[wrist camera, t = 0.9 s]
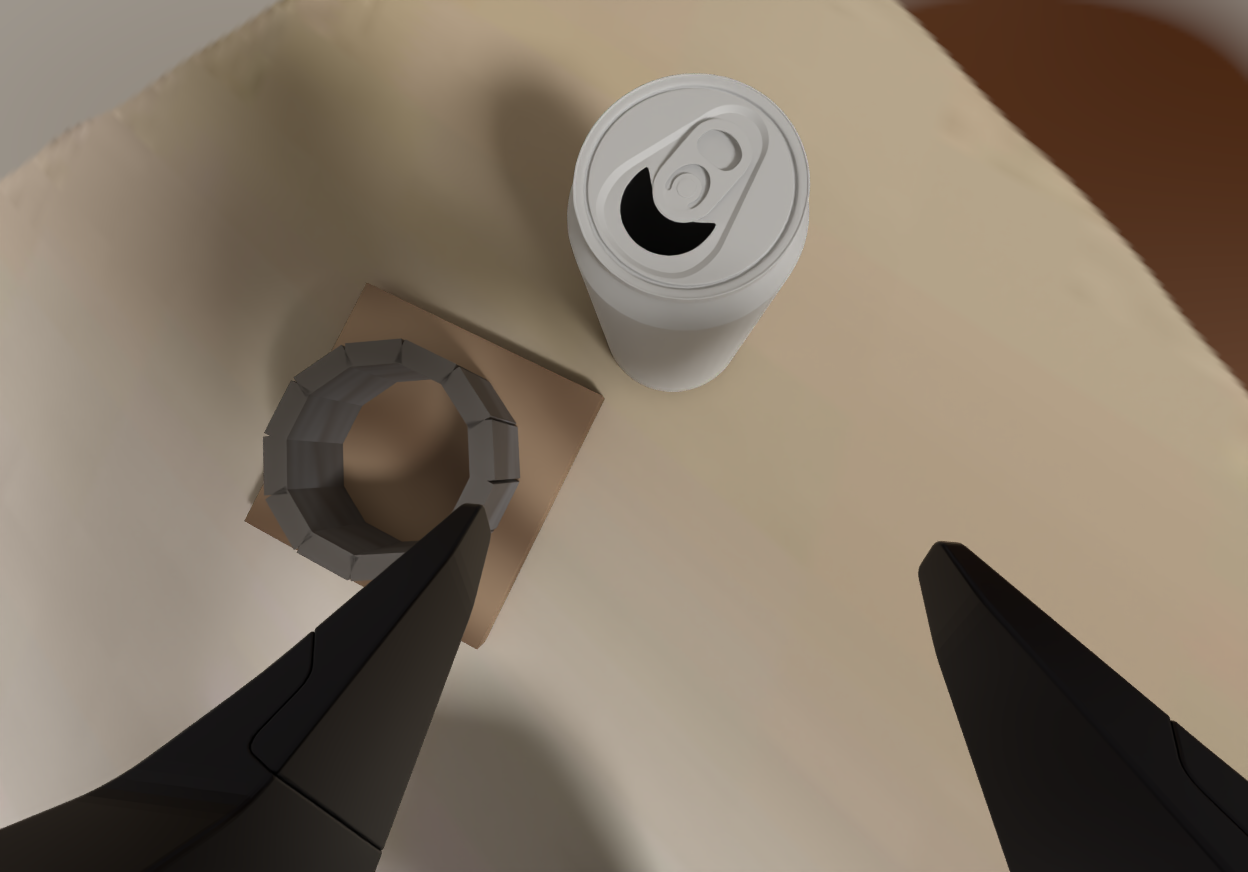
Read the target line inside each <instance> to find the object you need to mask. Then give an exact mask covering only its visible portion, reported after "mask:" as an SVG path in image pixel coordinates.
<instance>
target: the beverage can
mask: <svg viewBox="0 0 1248 872" xmlns="http://www.w3.org/2000/svg"><path fill="white" fill-rule="evenodd" d="M809 192H810V173H809V165H808V160H807V156H806V152H805V149H804V146H803V144H802V141H801V139H800V137H799V135H798V133H797V131H796V129H795V127H794V126H793V124H792V123H791V121H790V120H789V119H788V117H787V116H786V115H785V113H784V112H783V111H782V110H781V109H780V108H779V107H778V106H777V105H776V104H775V103H774V102H773V101H772V100H770V99H769V98H768V97H767V96H765V95H764V94H762V93H761V92H759V91H758V90H756V89H754V88H753V87H751V86H749V85H747V84H744V83H742V82H739V81H737V80H734V79H731V78H727V77H723V76H718V75H712V74H702V73H689V74H678V75H672V76H667V77H663V78H660V79H657V80H653V81H651V82H648V83H646V84H643V85H641V86H639V87H637V88H635V89H634V90H632V91H630V92H629V93H627V94H625V95H624V96H623V97H621V98H620V99H619V100H617V101H616V102H615V103H614V104H613V105H611V106H610V107H609V108H608V109H607V110H606V111H605V112H604V113H603V114H602V115H601V117H600V118H599V119H598V120H597V122H596V123H595V124H594V126H593V127H592V129H591V130H590V132H589V134H588V135H587V137H586V139H585V141H584V143H583V145H582V147H581V150H580V153H579V156H578V159H577V162H576V166H575V171H574V178H573V184H572V187H571V191H570V195H569V201H568V209H567V226H568V235H569V240H570V244H571V247H572V250H573V253H574V256H575V259H576V262H577V265H578V267H579V270H580V272H581V275H582V278H583V280H584V283H585V285H586V288H587V291H588V293H589V296H590V298H591V301H592V304H593V306H594V309H595V311H596V314H597V317H598V319H599V322H600V324H601V327H602V330H603V332H604V335H605V337H606V340H607V343H608V345H609V348H610V350H611V353H612V355H613V357H614V359H615V360H616V362H617V363H618V365H619V366H620V367H621V369H622V370H623V371H624V372H625V373H626V374H627V375H629V376H630V377H631V378H632V379H634V380H635V381H637V382H638V383H640V384H642V385H644V386H646V387H649V388H652V389H655V390H660V391H668V392H678V391H685V390H690V389H694V388H697V387H699V386H702V385H704V384H706V383H708V382H709V381H711V380H712V379H714V378H715V377H716V376H718V375H719V374H720V373H721V372H722V371H723V370H724V369H725V368H726V367H727V365H728V364H729V363H730V361H731V360H732V358H733V357H734V355H735V354H736V352H737V351H738V350H739V348H740V347H741V345H742V344H743V342H744V341H745V339H746V338H747V336H748V335H749V334H750V332H751V331H752V329H753V328H754V326H755V325H756V323H757V322H758V320H759V319H760V318H761V316H762V315H763V313H764V312H765V310H766V309H767V307H768V306H769V304H770V303H771V302H772V300H773V299H774V297H775V296H776V294H777V293H778V291H779V290H780V288H781V287H782V286H783V284H784V283H785V281H786V280H787V278H788V277H789V275H790V274H791V272H792V271H793V269H794V267H795V265H796V264H797V261H798V259H799V257H800V255H801V252H802V249H803V247H804V244H805V240H806V236H807V230H808V224H809Z"/></svg>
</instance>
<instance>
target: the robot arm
mask: <svg viewBox="0 0 1248 872" xmlns="http://www.w3.org/2000/svg"><path fill="white" fill-rule="evenodd" d="M490 538H491V530H490V525H489V522H488V518H487V514H486V510H485V508H484V506H483V505H481V504H471V503H465V504H462V505H460V506H459V507H458V508H457V509H456V510H454V511H453V512H452V513H451V514H450V515H449V516H447V517H446V518H445V519H444V520H443V521H441V522H440V523H439V524H438V525H437V526H436V527H434V528H433V529H432V530H431V531H430V532H428V533H427V534H426V535H425V536H424V537H423V538H421V539H420V540H419V541H418V542H417V543H416V544H414V545H413V546H412V547H411V548H410V549H408V550H407V551H406V552H405V553H404V554H403V555H401V556H400V557H399V558H398V559H397V560H395V561H394V562H393V563H392V564H391V565H390V566H388V567H387V568H386V569H385V570H384V571H382V572H381V573H380V574H379V575H378V576H377V577H375V578H374V579H373V580H372V581H371V582H369V583H368V584H367V585H366V586H365V587H364V588H362V589H361V590H360V591H359V592H358V593H357V594H355V595H354V596H353V597H352V598H351V599H349V600H348V601H347V602H346V603H345V604H344V605H342V606H341V607H340V608H339V609H338V610H336V611H335V612H334V613H333V614H332V615H331V616H329V617H328V618H327V619H326V620H325V621H323V622H322V623H321V624H320V625H319V626H318V627H316V629H315V632H310V633H309V634H308V635H307V636H306V637H304V638H303V639H302V640H301V641H300V642H298V643H297V644H296V645H295V646H294V647H293V648H291V649H290V650H289V651H288V652H286V653H285V654H284V655H283V656H282V657H280V658H279V659H278V660H277V661H275V662H274V663H273V664H272V665H270V666H269V667H268V668H267V669H266V670H264V671H263V672H262V673H260V674H259V675H258V676H257V677H255V678H254V679H253V680H251V681H250V682H249V683H247V684H246V685H245V686H243V687H242V688H241V689H239V690H238V691H237V692H235V693H234V694H233V695H232V696H230V697H229V698H228V699H226V700H225V701H223V702H222V703H221V704H219V705H218V706H217V707H215V708H214V709H213V710H211V711H210V712H208V713H207V714H206V715H204V716H203V717H202V718H200V719H199V720H198V721H196V722H195V723H193V724H192V725H191V726H189V727H188V728H187V729H185V730H184V731H183V732H181V733H180V734H179V735H177V736H176V737H174V738H173V739H172V740H170V741H169V742H168V743H166V744H165V745H164V746H162V747H161V748H159V749H158V750H157V751H155V752H154V753H153V754H151V755H150V756H149V757H147V758H146V759H144V760H143V761H141V762H140V763H139V764H137V765H136V766H134V767H133V768H131V769H130V770H128V771H126V772H125V773H123V774H122V775H120V776H118V777H117V778H115V779H113V780H111V781H110V782H108V783H106V784H104V785H102V786H101V787H99V788H97V789H95V790H93V791H91V792H89V793H87V794H85V795H82V796H80V797H78V798H75V799H73V800H71V801H68V802H66V803H63V804H61V805H58V806H56V807H54V808H51V809H49V810H46V811H44V812H41V813H39V814H36V815H34V816H31V817H29V818H26V819H24V820H22V821H19V822H17V823H14V824H12V825H9V826H7V827H4V828H2V829H0V872H375V870H376V867H377V865H378V862H379V859H380V857H381V854H382V852H381V850H383V848H384V845H385V843H386V840H387V837H388V835H389V832H390V829H391V827H392V824H393V821H394V819H395V816H396V813H397V811H398V808H399V805H400V803H401V800H402V797H403V795H404V792H405V789H406V787H407V784H408V781H409V779H410V776H411V773H412V771H413V768H414V765H415V763H416V760H417V757H418V755H419V752H420V749H421V747H422V744H423V741H424V739H425V736H426V733H427V731H428V728H429V725H430V723H431V720H432V717H433V714H434V712H435V709H436V706H437V704H438V701H439V698H440V696H441V693H442V690H443V688H444V685H445V682H446V680H447V677H448V674H449V672H450V669H451V666H452V664H453V661H454V658H455V656H456V653H457V650H458V648H459V645H460V642H461V640H462V637H463V634H464V632H465V629H466V626H467V624H468V621H469V618H470V615H471V612H472V610H473V606H474V603H475V599H476V595H477V591H478V587H479V583H480V579H481V575H482V571H483V567H484V563H485V559H486V555H487V551H488V547H489V543H490ZM918 577H919V582H920V586H921V591H922V595H923V600H924V604H925V609H926V614H927V618H928V623H929V627H930V632H931V636H932V641H933V644H934V648H935V652H936V656H937V659H938V662H939V665H940V668H941V671H942V674H943V677H944V680H945V683H946V686H947V689H948V692H949V694H950V697H951V700H952V703H953V706H954V709H955V712H956V715H957V718H958V721H959V724H960V727H961V730H962V733H963V736H964V738H965V741H966V744H967V747H968V750H969V753H970V756H971V759H972V762H973V765H974V768H975V771H976V774H977V777H978V780H979V782H980V785H981V788H982V791H983V794H984V797H985V800H986V803H987V806H988V809H989V812H990V815H991V818H992V821H993V824H994V826H995V829H996V832H997V835H998V838H999V841H1000V844H1001V847H1002V850H1003V853H1004V856H1005V859H1006V862H1007V865H1008V868H1009V870H1010V872H1248V781H1247V780H1246V779H1245V778H1244V777H1242V776H1241V775H1240V774H1239V773H1237V772H1236V771H1235V770H1234V769H1233V768H1231V767H1230V766H1229V765H1228V764H1226V763H1225V762H1224V761H1223V760H1222V759H1220V758H1219V757H1218V756H1217V755H1215V754H1214V753H1213V752H1212V751H1210V750H1209V749H1208V748H1207V747H1206V746H1204V745H1203V744H1202V743H1201V742H1200V741H1198V740H1197V739H1196V738H1195V737H1194V736H1192V735H1191V734H1190V733H1189V732H1188V731H1186V730H1185V729H1184V728H1183V727H1182V726H1180V725H1179V724H1178V723H1177V722H1175V721H1172V720H1171V721H1170V717H1169V716H1168V715H1167V714H1166V713H1165V712H1163V711H1162V710H1161V709H1160V708H1159V707H1157V706H1156V705H1155V704H1154V703H1153V702H1151V701H1150V700H1149V699H1148V698H1147V697H1145V696H1144V695H1143V694H1142V693H1141V692H1139V691H1138V690H1137V689H1136V688H1135V687H1133V686H1132V685H1131V684H1130V683H1129V682H1127V681H1126V680H1125V679H1124V678H1123V677H1121V676H1120V675H1119V674H1118V673H1117V672H1116V671H1114V670H1113V669H1112V668H1111V667H1110V666H1108V665H1107V664H1106V663H1105V662H1104V661H1102V660H1101V659H1100V658H1099V657H1098V656H1096V655H1095V654H1094V653H1093V652H1092V651H1090V650H1089V649H1088V648H1087V647H1086V646H1084V645H1083V644H1082V643H1081V642H1080V641H1078V640H1077V639H1076V638H1075V637H1074V636H1072V635H1071V634H1070V633H1069V632H1068V631H1066V630H1065V629H1064V628H1063V627H1062V626H1060V625H1059V624H1058V623H1057V622H1056V621H1054V620H1053V619H1052V618H1051V617H1050V616H1048V615H1047V614H1046V613H1045V612H1044V611H1043V610H1041V609H1040V608H1039V607H1038V606H1037V605H1035V604H1034V603H1033V602H1032V601H1031V600H1029V599H1028V598H1027V597H1026V596H1025V595H1023V594H1022V593H1021V592H1020V591H1019V590H1017V589H1016V588H1015V587H1014V586H1013V585H1011V584H1010V583H1009V582H1008V581H1007V580H1005V579H1004V578H1003V577H1002V576H1001V575H999V574H998V573H997V572H996V571H995V570H993V569H992V568H991V567H990V566H989V565H987V564H986V563H985V562H984V561H983V560H981V559H980V558H979V557H978V556H977V555H975V554H974V553H973V552H972V551H971V550H970V549H968V548H967V547H966V546H964V545H963V544H961V543H957V542H947V541H938V542H936V543H935V544H934V545H933V546H932V548H931V549H930V551H929V552H928V554H927V555H926V557H925V558H924V560H923V561H922V563H921V565H920V567H919V571H918Z"/></svg>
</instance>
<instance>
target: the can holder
mask: <svg viewBox="0 0 1248 872" xmlns="http://www.w3.org/2000/svg"><path fill="white" fill-rule="evenodd" d="M294 379H295V380H296V382H295V381H291V382H290V384H289V385H288V387H287V389H286V391H285V393H284V395H283V397H282V399H281V401H280V403H279V405H278V407H277V409H276V411H275V413H274V415H273V417H272V419H271V420H270V422H269V424H268V426H267V428H266V430H265V432H264V433H265V434H267V435H269V436H267V437H263V462H264V484H263V486H262V487H261V489H260V491H259V493H258V495H257V497H256V499H255V501H254V503H253V505H252V507H251V509H250V511H249V513H248V515H247V517H246V519H245V522H247V523H249V524H251V525H252V526H254V527H256V528H258V529H260V530H261V531H263V532H265V533H267V534H269V535H270V536H272V537H274V538H276V539H278V540H280V541H281V542H283V543H285V544H287V545H289V546H290V547H292V548H293V549H296V550H298V551H297V553H299V554H300V555H302V556H304V557H306V558H308V559H310V560H311V561H313V562H315V563H317V564H319V565H320V566H322V567H324V568H326V569H328V570H329V571H331V572H333V573H335V574H337V575H338V576H340V577H342V578H344V579H346V580H349V579H350V580H351V581H354V582H356V583H358V584H359V585H361V586H363V587H365V586H366V585H367V584H368V583H369V582H371V581H372V580H373V579H374V578H375V577H377V576H378V575H379V574H380V573H381V572H382V571H384V570H385V569H386V568H387V567H388V566H390V565H391V564H392V563H393V562H394V561H395V560H397V559H398V558H399V557H400V556H401V555H403V554H404V553H405V552H406V551H407V550H408V549H410V548H411V547H412V546H413V545H414V544H416V543H417V542H418V541H419V540H420V539H421V538H423V537H424V536H425V535H426V534H427V533H428V532H430V531H431V530H432V529H433V528H434V527H436V526H437V525H438V524H439V523H440V522H441V521H443V520H444V519H445V518H446V517H447V516H449V515H450V514H451V513H452V512H453V511H454V510H456V509H457V508H458V507H459V506H460V505H462V504H465V503H471V504H481V505H483V506H484V508H485V510H486V514H487V518H488V522H489V525H490V530H491V538H490V543H489V547H488V551H487V555H486V559H485V563H484V567H483V571H482V575H481V579H480V583H479V587H478V591H477V595H476V599H475V603H474V606H473V610H472V612H471V615H470V618H469V621H468V624H467V626H466V629H465V632H464V634H463V637H462V640H461V641H463V642H464V643H466V644H468V645H470V646H472V647H474V648H475V649H478V648H479V647H480V646H481V645H482V644H483V643H484V642H485V640H486V638H487V636H488V634H489V632H490V630H491V628H492V626H493V624H494V622H495V620H496V618H497V616H498V614H499V612H500V610H501V608H502V606H503V604H504V602H505V600H506V598H507V596H508V594H509V592H510V590H511V588H512V586H513V584H514V582H515V580H516V578H517V575H518V573H519V571H520V569H521V567H522V565H523V563H524V561H525V559H526V557H527V555H528V553H529V551H530V549H531V547H532V545H533V543H534V541H535V539H536V537H537V535H538V533H539V531H540V529H541V527H542V525H543V523H544V521H545V519H546V517H547V515H548V513H549V511H550V509H551V507H552V505H553V502H554V500H555V498H556V496H557V494H558V492H559V490H560V488H561V486H562V484H563V482H564V480H565V478H566V476H567V474H568V472H569V470H570V468H571V466H572V464H573V462H574V460H575V458H576V456H577V454H578V452H579V450H580V448H581V446H582V444H583V442H584V440H585V438H586V436H587V434H588V432H589V429H590V427H591V425H592V423H593V421H594V419H595V417H596V415H597V413H598V411H599V409H600V407H601V405H602V403H603V401H604V397H603V396H602V395H600V394H598V393H596V392H594V391H591V390H589V389H587V388H585V387H583V386H581V385H579V384H577V383H575V382H573V381H571V380H569V379H566V378H564V377H562V376H560V375H558V374H556V373H554V372H552V371H550V370H548V369H546V368H544V367H542V366H539V365H537V364H535V363H533V362H531V361H529V360H527V359H525V358H523V357H521V356H519V355H517V354H515V353H512V352H510V351H508V350H506V349H504V348H502V347H500V346H498V345H496V344H494V343H492V342H490V341H487V340H485V339H483V338H481V337H479V336H477V335H475V334H473V333H471V332H469V331H467V330H465V329H463V328H460V327H458V326H456V325H454V324H452V323H450V322H448V321H446V320H444V319H442V318H440V317H438V316H435V315H433V314H431V313H429V312H427V311H425V310H423V309H421V308H419V307H417V306H415V305H413V304H411V303H408V302H406V301H404V300H402V299H400V298H398V297H396V296H394V295H392V294H390V293H388V292H386V291H383V290H381V289H379V288H377V287H375V286H373V285H371V284H369V283H366V285H365V287H364V289H363V291H362V293H361V295H360V297H359V298H358V300H357V302H356V304H355V306H354V308H353V310H352V312H351V314H350V316H349V318H348V320H347V322H346V324H345V326H344V328H343V330H342V332H341V334H340V335H339V337H338V339H337V341H336V343H335V345H334V347H333V349H332V351H331V352H330V353H328V354H327V355H326V356H324V357H323V358H321V359H320V360H318V361H317V362H315V363H314V364H313V365H311V366H310V367H308V368H307V369H305V370H304V371H302V372H301V373H299V374H298V375H297V376H295V377H294Z"/></svg>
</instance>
